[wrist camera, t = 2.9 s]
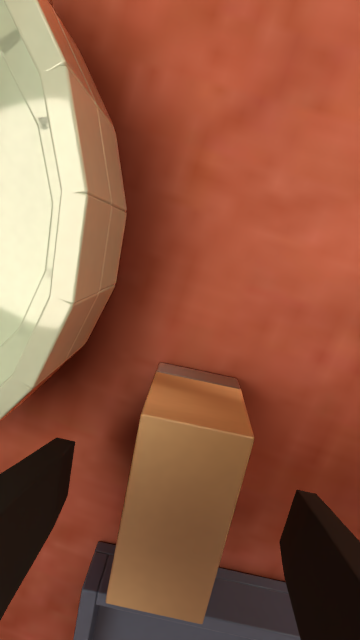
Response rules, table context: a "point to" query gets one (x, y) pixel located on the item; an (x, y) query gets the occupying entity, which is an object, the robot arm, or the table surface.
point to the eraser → (180, 493)
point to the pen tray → (182, 636)
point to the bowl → (51, 200)
